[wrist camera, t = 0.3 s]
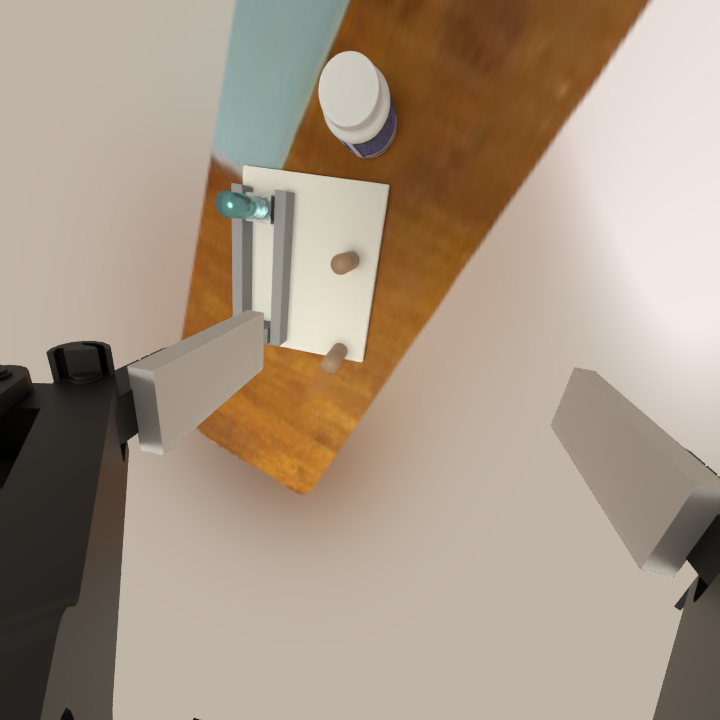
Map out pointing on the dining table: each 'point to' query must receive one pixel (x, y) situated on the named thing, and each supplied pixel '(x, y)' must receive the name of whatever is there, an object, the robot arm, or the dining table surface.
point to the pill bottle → (357, 104)
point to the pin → (246, 206)
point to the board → (310, 261)
